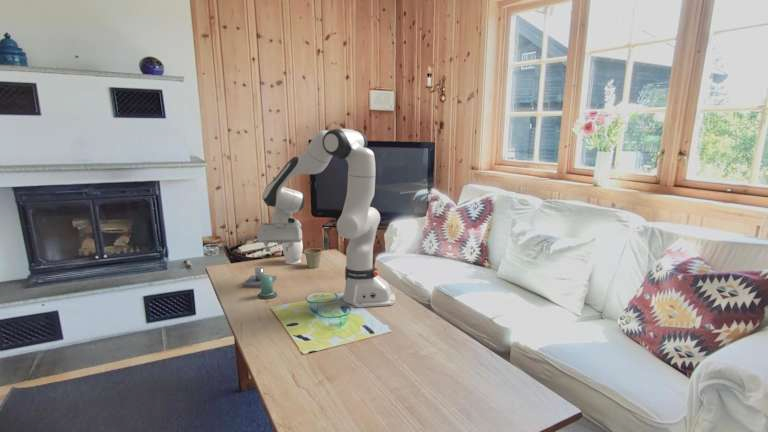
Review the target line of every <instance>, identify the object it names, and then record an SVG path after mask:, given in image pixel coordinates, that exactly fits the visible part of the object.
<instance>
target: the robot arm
mask: <svg viewBox="0 0 768 432" xmlns="http://www.w3.org/2000/svg"><path fill="white" fill-rule="evenodd" d="M333 157H334V158H338V159H339V160H343V161H344V160H346V161H347V165H348V166H347V167H348V168H347V170H348V171H347V190H346V197H345V200H344V205H343V209H342V211H341V215H340V216H339V218H338V219H337V222H336V231H337V232H338V235H340V236H341V237H342V238H344V239H347V240H349V242H348V244H347V247H346V250H345V251H346V253H345V254H346V256H345V257H346V258H345V259H346V260H345V261H346V264H345V270H344V275H345V276H344V278H345V286H344V292H343V295H342V300H343V301H344V302H345V303H346V304H349V305H352V306H354V308H366V307H367V308H368V307H388V306H393V304H395V302H396V294H395V293H394V292H393V291H392V290H391V288H390V285H389V282H388V281H387V280H385V279H383V278H382V277H381V276H379V271H378V268H377V266H374V264H373V258H374V255H373V254H374V253H373V252H374V245H375V240H376V235H377V230H378V227H379V224H380V222H381V214H380V212H379V211H378V210H377V208H375V207H372V206H371V204H372V201H373V199H374V197H375V190H376V171H377V170H376V159H375V152H374V151H373V150H372V149H370V148H368V139H367V135H366V134H365V133H363V132H362V131H360V130H357V129H350V128H334V129H331V130H326V129H325V130H324V129H323V130H322V129H321V130H320V131H318V132H317V133H316V135H314V137H313V138H312V140H311V141H310V142H309V143H308V145H307V147H306V149H305V150H304V151H303V152H302V153H300V154H299V155H298V156H293V157H292V158H291V159H289V160H288V162H287V163H286V164H285V165H284V166H283V167H282V168H281V170H280V171H279V172H278V174H277V175H276V176H275V178H274V179H273V180H272V181H271V182H270V183H268V184H267V185H266V187H265V188H264V190H263V193H262V195H261V196H262V198H261V199H262V200H263V202H264V203H265V205H266V206H267V207H273V210H274V211H273V212H272V213H273V214H272V217H271V222H263V223H261V224H259V227H258V232H257V236H256V240H257V241H258V242H259V243H261V244H263V245H264V248H265V249H264V250H265V252H267V253H269V252H270V251H271V247H270V246H268V245H269V244H270V243H274V244H275V243H283V242H289V245H288V247H286V252H290V248H291V247H292V246H293V243H294V242H300V241H301V240H302V241H303V230H302V229H301V228H302V224H301V222H300V221H299V220H298V219H296V218H294V217H293V213H294V214H295V213H297V212H301V211H302V210H303V209H304V207H305V202H306V198H305V195H304V194H303V192H300V191H299V190H296V189H292V188H288V187H286V186H285V185H287V183H288V181H290V179H291V178H292V177H294V176H297V175H316V174H320V173H322V172H323V171H325V169H326V168H327V167H328V165H329V164H330V161H331V160H332V158H333Z"/></svg>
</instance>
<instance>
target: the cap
mask: <svg viewBox="0 0 768 432" xmlns="http://www.w3.org/2000/svg"><path fill="white" fill-rule="evenodd" d="M272 276H273V275H272V274H264V275H263V276H261V277H260V281H261V288H260V292H259V293H260V296H262V297H270V296H273V295H274V292H275V291H274V285H273V284H274V282H273V278H272Z"/></svg>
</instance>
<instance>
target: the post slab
mask: <svg viewBox="0 0 768 432" xmlns="http://www.w3.org/2000/svg"><path fill="white" fill-rule="evenodd" d="M272 278H273V283H274V282H275V281H276V280H277V275H272ZM242 288H247V289H248V288H249V289H250V288H253V289H254V288H256V289H257V288H259V289H261V281H255V274H254V275H253V274H252V275H250V276H249V277H248V278H247V279H246V280H245V281H244V282H243V284H242Z"/></svg>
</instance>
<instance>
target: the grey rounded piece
mask: <svg viewBox="0 0 768 432" xmlns="http://www.w3.org/2000/svg"><path fill="white" fill-rule="evenodd" d="M254 275H255V281H260V277H261V276H263V275H265V269H264V267H261V266H260V267H256V268H254Z"/></svg>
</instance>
